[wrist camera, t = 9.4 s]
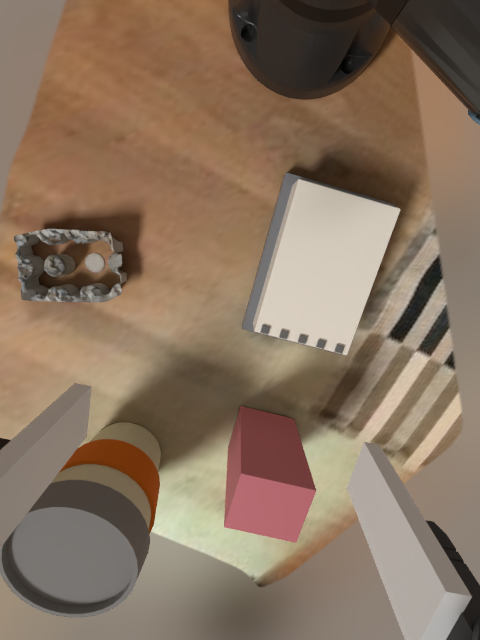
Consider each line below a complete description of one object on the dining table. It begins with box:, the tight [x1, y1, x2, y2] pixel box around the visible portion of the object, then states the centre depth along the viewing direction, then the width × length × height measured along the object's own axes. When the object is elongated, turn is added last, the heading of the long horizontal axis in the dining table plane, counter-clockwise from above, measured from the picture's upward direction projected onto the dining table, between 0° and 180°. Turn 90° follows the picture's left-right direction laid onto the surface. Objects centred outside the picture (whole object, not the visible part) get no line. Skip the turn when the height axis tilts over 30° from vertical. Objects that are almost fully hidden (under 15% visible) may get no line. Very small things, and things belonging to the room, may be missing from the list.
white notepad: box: [242, 172, 401, 355], centre depth 34 cm, size 17×12×5 cm
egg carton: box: [14, 229, 127, 302], centre depth 35 cm, size 11×8×4 cm
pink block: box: [224, 406, 316, 542], centre depth 35 cm, size 6×7×12 cm
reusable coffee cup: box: [0, 422, 161, 617], centre depth 35 cm, size 13×13×15 cm
